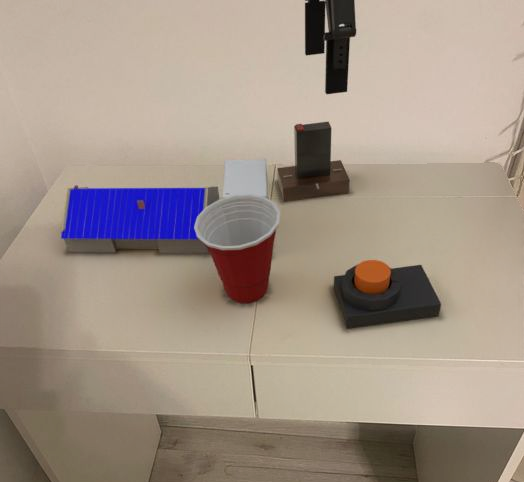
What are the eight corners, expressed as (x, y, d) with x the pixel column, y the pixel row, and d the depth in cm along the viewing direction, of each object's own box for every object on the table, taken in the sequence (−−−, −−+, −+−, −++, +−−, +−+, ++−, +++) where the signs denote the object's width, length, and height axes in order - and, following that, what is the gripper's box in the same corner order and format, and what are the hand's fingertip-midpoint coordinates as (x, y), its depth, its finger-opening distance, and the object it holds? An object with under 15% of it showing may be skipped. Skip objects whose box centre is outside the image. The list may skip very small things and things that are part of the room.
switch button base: (419, 276, 76) (423, 253, 73) (438, 316, 71) (444, 293, 68) (333, 288, 76) (334, 265, 73) (346, 329, 70) (348, 306, 67)
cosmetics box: (271, 257, 81) (267, 195, 73) (228, 260, 82) (219, 198, 74) (270, 217, 88) (266, 155, 81) (230, 219, 89) (222, 158, 81)
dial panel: (338, 168, 97) (338, 154, 95) (351, 198, 90) (352, 183, 88) (276, 176, 97) (275, 162, 95) (284, 206, 90) (284, 192, 88)
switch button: (383, 270, 72) (385, 257, 71) (393, 292, 69) (395, 279, 68) (350, 274, 72) (351, 262, 70) (358, 296, 69) (359, 284, 67)
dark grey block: (327, 168, 92) (328, 119, 86) (330, 174, 91) (331, 126, 85) (295, 172, 92) (294, 124, 86) (297, 178, 91) (296, 130, 85)
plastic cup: (194, 282, 79) (179, 209, 70) (262, 256, 82) (255, 184, 73) (226, 328, 72) (214, 254, 63) (298, 299, 75) (296, 224, 66)
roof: (67, 255, 85) (50, 214, 80) (94, 204, 94) (81, 164, 89) (207, 256, 82) (199, 214, 77) (221, 204, 92) (215, 163, 86)
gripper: (276, -145, 68) (282, 42, 83) (318, -112, 51) (316, 114, 67) (336, -151, 68) (331, 37, 84) (398, -120, 51) (377, 107, 67)
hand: (324, 71), depth 75 cm, fingers open, 13 cm apart
